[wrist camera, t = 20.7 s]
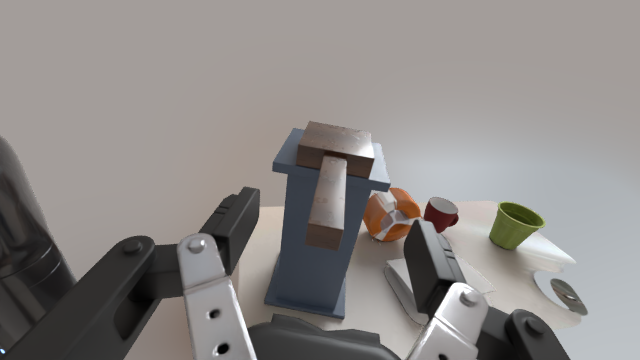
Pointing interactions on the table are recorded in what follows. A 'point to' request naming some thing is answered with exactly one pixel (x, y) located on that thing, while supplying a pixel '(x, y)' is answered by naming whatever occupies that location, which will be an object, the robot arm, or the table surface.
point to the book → (403, 290)
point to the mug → (441, 213)
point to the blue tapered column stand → (312, 262)
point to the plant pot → (514, 224)
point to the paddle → (332, 176)
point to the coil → (390, 214)
